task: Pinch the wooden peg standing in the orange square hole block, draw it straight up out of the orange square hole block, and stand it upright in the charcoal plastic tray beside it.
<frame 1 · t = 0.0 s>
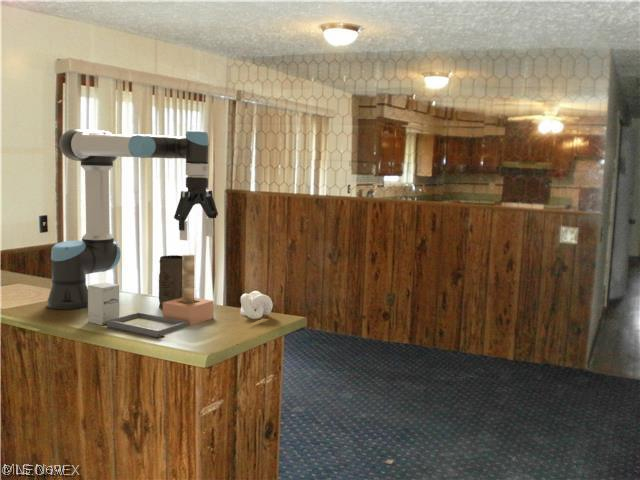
hand: (196, 238, 219), 28 cm above the table, fingers open, 13 cm apart
supplement box: (103, 322, 214), on the table
wooden peg: (188, 318, 216), point 1 cm above the table, touching orange square hole block
tray: (147, 328, 207), on the table
beer stein: (176, 308, 236), on the table
orange square hole block: (188, 321, 216), on the table
white decorative knot: (253, 318, 224), on the table
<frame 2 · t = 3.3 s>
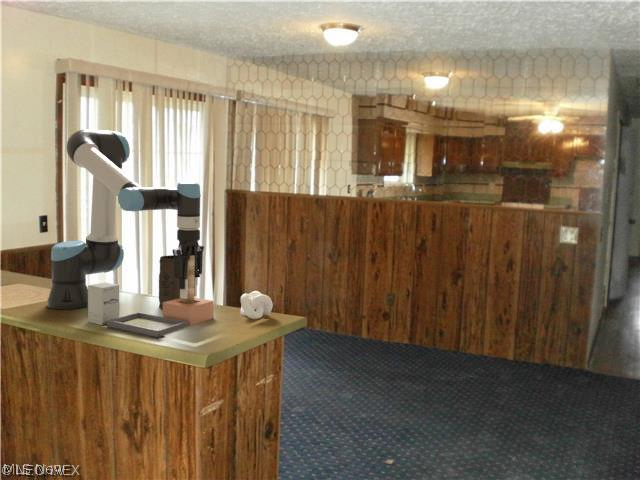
hand: (188, 297, 215), 9 cm above the table, fingers closed on wooden peg, 4 cm apart
wooden peg: (188, 318, 216), point 1 cm above the table, touching orange square hole block, gripper
everything else where it was.
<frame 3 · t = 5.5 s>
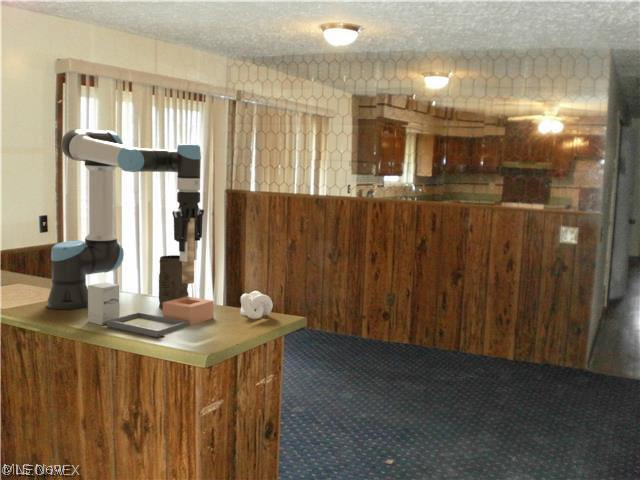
hand: (188, 260, 214), 21 cm above the table, fingers closed on wooden peg, 4 cm apart
wooden peg: (188, 282, 215), point 14 cm above the table, touching gripper
everything else where it was.
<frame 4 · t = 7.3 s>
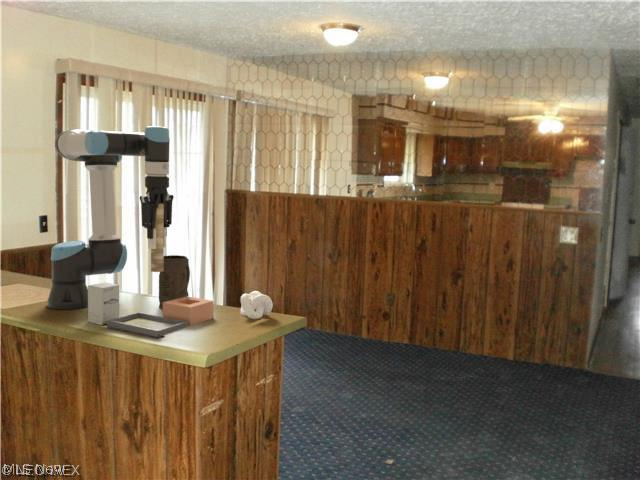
hand: (157, 247, 206), 26 cm above the table, fingers closed on wooden peg, 4 cm apart
wooden peg: (157, 270, 207), point 19 cm above the table, touching gripper
everything else where it was.
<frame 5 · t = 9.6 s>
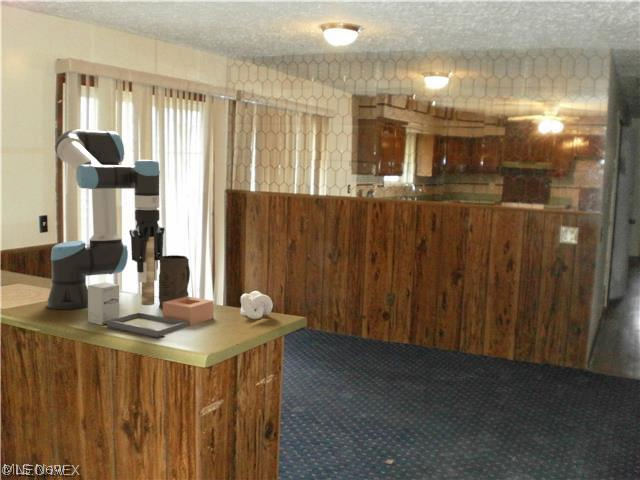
hand: (147, 280, 205), 16 cm above the table, fingers closed on wooden peg, 4 cm apart
wooden peg: (148, 304, 206), point 8 cm above the table, touching gripper
everything else where it was.
when the fingers open (9 cm above the table, at t = 11.5 s): wooden peg drops 1 cm, resting on tray.
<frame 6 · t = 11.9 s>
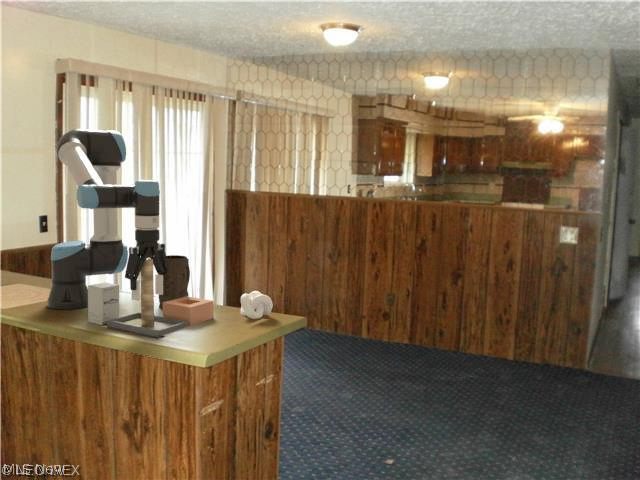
hand: (147, 296, 205), 10 cm above the table, fingers open, 10 cm apart
wooden peg: (147, 326, 207), point 1 cm above the table, touching tray
everything else where it was.
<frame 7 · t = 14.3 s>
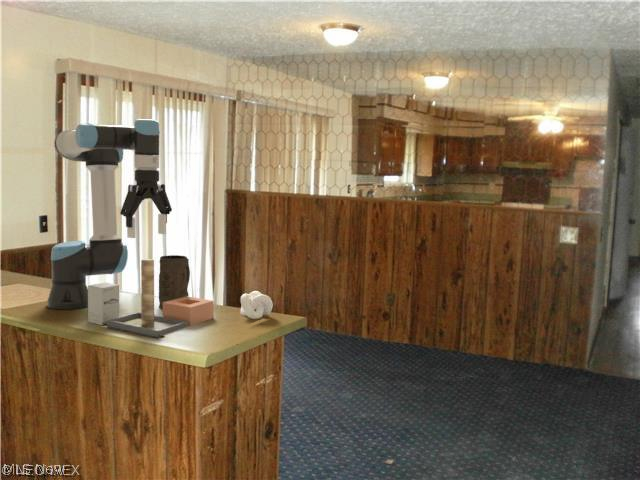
hand: (147, 235, 203), 30 cm above the table, fingers open, 13 cm apart
nothing on the table moved.
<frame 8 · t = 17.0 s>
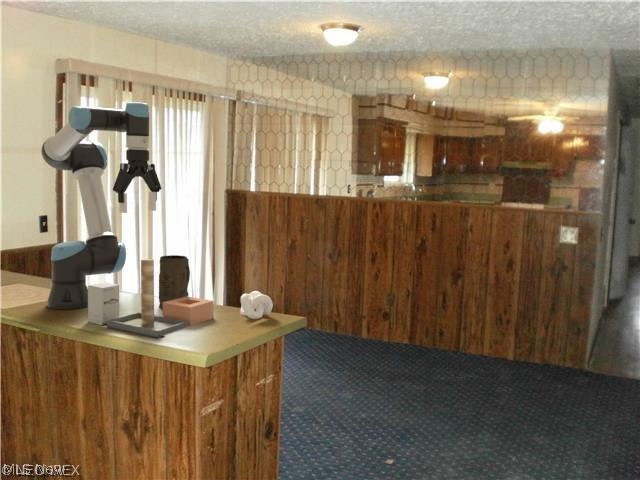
hand: (138, 211, 217), 37 cm above the table, fingers open, 13 cm apart
nothing on the table moved.
at the end: wooden peg inside the target area on the tray (0.0 cm from its centre), point 0.6 cm above the tray's base; wooden peg tilted 0°; the gripper is holding nothing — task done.
